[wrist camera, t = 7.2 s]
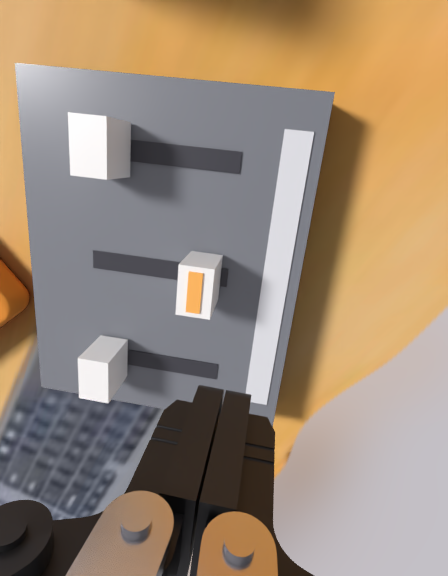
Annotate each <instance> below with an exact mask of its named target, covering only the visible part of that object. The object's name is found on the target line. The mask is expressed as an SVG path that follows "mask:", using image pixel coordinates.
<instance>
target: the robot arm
mask: <svg viewBox="0 0 448 576" xmlns="http://www.w3.org/2000/svg"><path fill="white" fill-rule="evenodd" d="M223 397H224V401H223ZM250 402H251V394H245V393H240V392H235V391H230V390H226V392H225V396H224V389H219V388H213V387H208V386H203V385H199V386H198V388H197V391H196V393H195V396H194V399H193V402H187V401H182V400H176V401H174V402H173V403H172V404H171V405H170V406H168V407H167V408H166V409H165V410H164V411H163V413H162V415H161V418H160V420H159V422H158V424H157V428H155V430H154V433H153V435H152V437H151V440H150V441H149V443H148V445H147V448H146V450H145V452H144V454H143V456H142V458H141V460H140V463H139V465H138V467H137V469H136V471H135V473H134V476H133V478H132V480H131V482H130V484H129V486H128V488H127V490H126V492H125V493H124V494H123V495H121V496H119V497H118V498H116V499H115V500H114V501H112V502H111V503H110V504H109V505H108V506H107V507H106V509H105V510H104V511H103V512H101V513H98V514H96V515H92V516H89V517H83V518H73V519H63V520H52V516H51V513H50V511H49V510H48V508H47V507H45V506H44V505H43V504H41V503H39V502H36V501H33V500H18V501H13V502H9V503H6V504H4V505H1V506H0V576H187V574H188V570H189V565H190V561H191V556H192V552H193V556H192V563H191V571H190V576H313V575H312V574H310V573H309V572H307V571H306V570H304V569H302V568H301V567H299V566H298V565H297V564H296V563H294V562H293V561H292V560H291V559H290V558H289V557H288V556H287V554H286V553H285V552H284V551H283V549H282V548H281V546H280V544H279V542H278V540H277V538H276V535H275V533H274V528H273V493H274V449H275V431H274V429H273V427H272V425H271V423H270V421H269V419H268V417H264V416H259V415H254V414H249V410H250ZM222 404H223V405H222Z"/></svg>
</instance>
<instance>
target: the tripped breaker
mask: <svg viewBox="0 0 448 576" xmlns="http://www.w3.org/2000/svg"><path fill="white" fill-rule="evenodd" d="M222 258H223V255H218V254H211V253H203V252H196V251H191V252H190V253H189V254H188V255H187V256H186V257H185V258H184V259H183V260H182V261H181V262H180V264H179V266H178V282H177V298H176V313H175V315H182V316H188V317H195V318H201V319H208V320H210V318H211V316H212V313H213V311H214V308H215V306H216V304H217V301H218V296H219V287H220V277H221V268H222Z"/></svg>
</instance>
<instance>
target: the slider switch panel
mask: <svg viewBox="0 0 448 576" xmlns="http://www.w3.org/2000/svg"><path fill="white" fill-rule="evenodd" d="M15 70H16V82H17V94H18V107H19V119H20V131H21V143H22V155H23V168H24V180H25V192H26V204H27V217H28V229H29V241H30V253H31V266H32V278H33V290H34V302H35V315H36V327H37V339H38V351H39V364H40V376H41V387H44V388H50V389H55V390H61V391H67V392H72V393H78V394H79V382H78V357H79V356H80V355H81V354H82V353H83V352H84V351H85V350H86V349H87V348H88V347H89V346H90V345H91V344H92V343H93V342H94V341H95V340H96V339H97V338H98V337H99V336H100V335H102V336H109V337H115V338H121V339H127V340H128V362H127V377H126V379H125V380H124V381H123V383H122V384H121V386H120V387H119V389H118V390H117V392H116V393H115V394H114V396H113V397H112V399H111V400H117V401H123V402H128V403H134V404H139V405H145V406H151V407H156V408H162V409H166V408H167V407H168V406H170V405H171V404H172V403H173V402H174V401H176V400H182V401H187V402H193V399H194V396H195V393H196V391H197V388H198V386H199V385H203V386H208V387H213V388H219V389H224V396H225V392H226V390H230V391H235V392H240V393H245V394H251V402H250V410H249V414H254V415H259V416H264V417H268V419H269V421H270V423H271V425H272V427H273V421H274V416H275V411H276V405H277V400H278V395H279V389H280V384H281V378H282V373H283V368H284V362H285V357H286V351H287V346H288V341H289V335H290V330H291V325H292V319H293V314H294V308H295V303H296V298H297V292H298V287H299V281H300V276H301V271H302V265H303V260H304V255H305V249H306V244H307V238H308V233H309V228H310V222H311V217H312V212H313V206H314V201H315V195H316V190H317V185H318V179H319V174H320V168H321V163H322V158H323V152H324V147H325V142H326V136H327V131H328V125H329V120H330V115H331V109H332V104H333V98H334V93H335V92H326V91H315V90H304V89H293V88H282V87H272V86H261V85H250V84H239V83H228V82H217V81H206V80H195V79H185V78H174V77H163V76H152V75H141V74H130V73H119V72H109V71H98V70H87V69H76V68H65V67H54V66H43V65H32V64H22V63H15ZM68 112H71V113H80V114H90V115H100V116H108V117H111V118H115V119H119V120H123V121H127V122H130V123H131V154H130V177H128V178H118V179H109V180H105V179H96V178H88V177H80V176H71V175H70V156H69V131H68ZM191 251H196V252H203V253H211V254H218V255H223V258H222V268H221V277H220V287H219V296H218V301H217V304H216V306H215V308H214V311H213V313H212V316H211V318H210V320H208V319H201V318H195V317H188V316H182V315H175V313H176V298H177V282H178V266H179V264H180V262H181V261H182V260H183V259H184V258H185V257H186V256H187V255H188V254H189V253H190V252H191ZM223 401H224V397H223ZM222 405H223V404H222Z"/></svg>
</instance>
